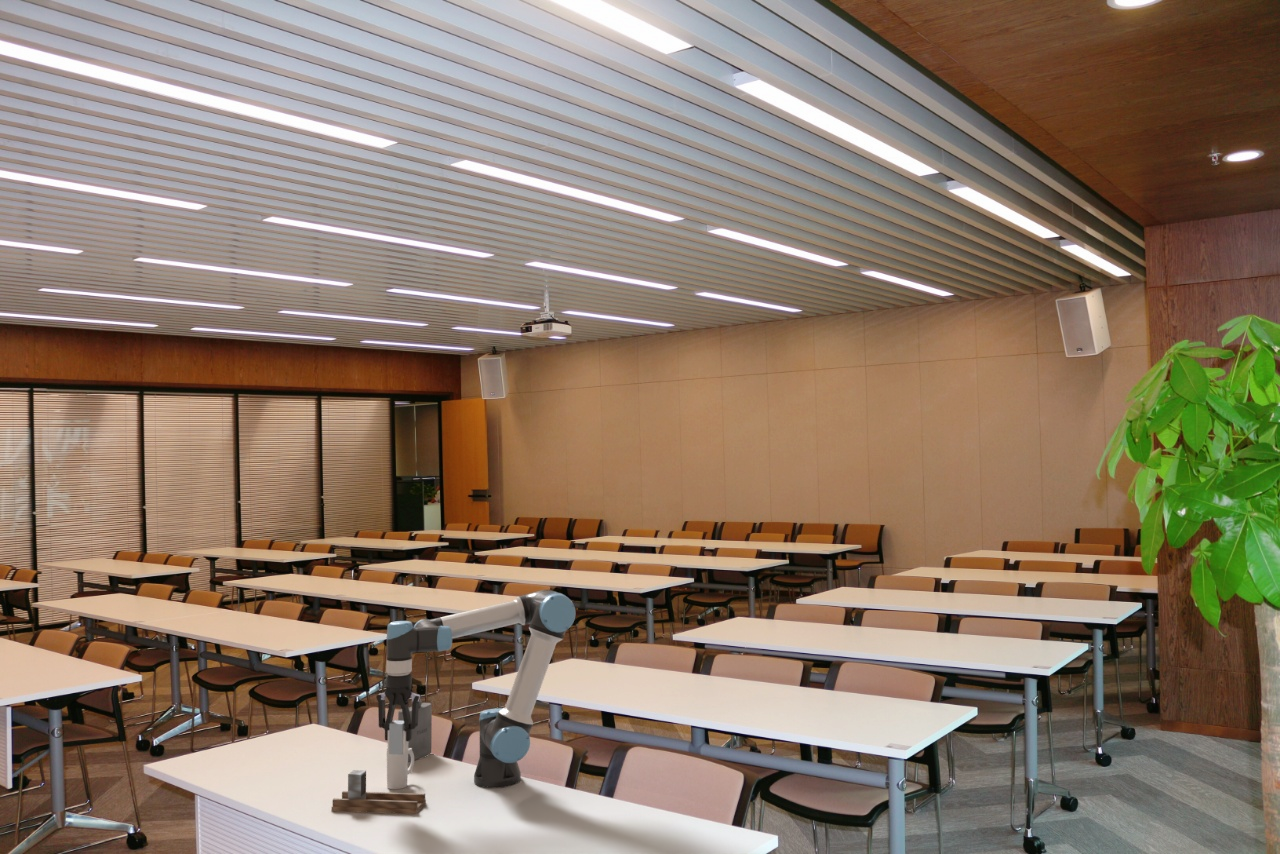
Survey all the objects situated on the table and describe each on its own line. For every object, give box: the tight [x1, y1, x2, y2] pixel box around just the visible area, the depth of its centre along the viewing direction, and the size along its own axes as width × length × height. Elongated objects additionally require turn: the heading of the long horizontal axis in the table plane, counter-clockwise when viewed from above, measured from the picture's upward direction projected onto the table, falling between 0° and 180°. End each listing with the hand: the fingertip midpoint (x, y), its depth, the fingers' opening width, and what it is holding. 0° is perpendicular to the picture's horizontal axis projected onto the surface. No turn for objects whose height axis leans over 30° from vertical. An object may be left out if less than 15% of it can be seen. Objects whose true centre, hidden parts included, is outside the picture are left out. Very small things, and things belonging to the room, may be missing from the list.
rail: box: [331, 769, 427, 815], centre depth 288 cm, size 26×9×10 cm, turn 83°
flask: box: [397, 699, 433, 763], centre depth 340 cm, size 15×6×20 cm, turn 152°
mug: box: [386, 748, 415, 790], centre depth 309 cm, size 10×7×12 cm, turn 141°
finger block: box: [389, 719, 405, 755], centre depth 288 cm, size 4×4×9 cm
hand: (397, 751), depth 288 cm, fingers closed on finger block, 4 cm apart
